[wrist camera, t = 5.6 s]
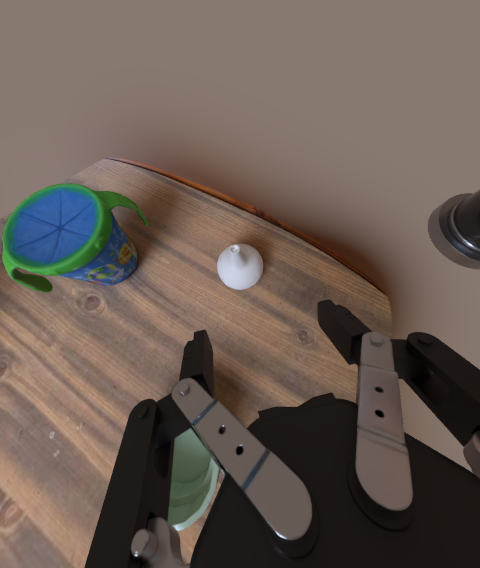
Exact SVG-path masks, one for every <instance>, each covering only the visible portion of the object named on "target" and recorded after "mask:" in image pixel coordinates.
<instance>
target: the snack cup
mask: <svg viewBox="0 0 480 568" xmlns="http://www.w3.org/2000/svg"><path fill="white" fill-rule="evenodd" d="M118 205H119V206H122V207H126V208H130V209H134V210H136V211H137V213H138V215H139V217H140V218H141V220H142V221H143V223H144V224H145V225H146V226H149V223H148V221H147V219H146V217H145V215H144V214H143V213H142V211H141V210H140V209H139V208H138V206H137V205H136V204H135V203H134V202H133V201H132V200H130V199H129V198H127V197H125V196H123V195H121V194H118V193H115V192H110V191H93V190H91V189H89V188H88V187H85V186H83V185H79V184H72V183H66V184H58V185H53V186H49V187H46V188H44V189H41V190H39V191H37V192H35V193H34V194H32V195H30V196H29V197H28V198H26V199H25V200H24V201H23V202H22V203H21V204H20V205H19V206H18V207H17V208H16V209H15V210H14V211H13V213H12V214H11V216H10V217H9V219H8V221H7V223H6V225H5V228H4V232H3V247H4V250H3V255H2V259H3V263H4V266H5V269H6V271H7V273H8V274H9V276H10V277H11V278H12V279H13V280H14V281H16V282H17V283H19V284H21V285H23V286H25V287H28V288H30V289H33V290H36V291H40V292H50V291H52V289H53V287H52V284H51V283H50V282H49V281H48V280H47V279H46V278H45V277H42V276H39V275H33V274H24V273H21V272H19V271H18V270H16V268H23V269H25V270H28V271H30V272H34V273H38V274H43V275H50V276H56V275H60V276H63V277H68V278H72V279H78V280H83V281H87V282H91V283H97V284H102V285H114V284H117V283H118V282H122V281H123V280H125V279H126V278H127V277H128V276H129V275H130V274H131V273H132V272H133V271H134V270H135V269H136V268H137V266H136V264H137V250H136V248H135V246H134V245H133V243H132V242H131V240H130V239H129V238H128V236H127V235H126V234H125V232H124V231H123V230H122V229H121V227H120V226H119V225H118V223H117V221H116V219H115V217H114V215H113V214H112V212H111V210H112V209H113V208H114V207H115V206H118Z"/></svg>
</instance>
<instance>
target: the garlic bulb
mask: <svg viewBox="0 0 480 568" xmlns="http://www.w3.org/2000/svg"><path fill="white" fill-rule="evenodd" d="M217 270H218V274H219V277H220V278H221V280H222V281H223V282H224V283H225V284H226V285H227V286H229V287H230V288H233V289H237V290H243V289H247V288H250V287H252V286H253V285H255V284H256V283H257V282H258V281H259V279H260V277H261V275H262V272H263V260H262V258H261V256H260V254H259V253H258V251H257V250H256V249H254V248H253V247H251V246H249V245H246V244H233V245H231V246H229V247H227V248H226V249H225V250H224V251H223V252H222V253H221V255H220V256H219V259H218V263H217Z"/></svg>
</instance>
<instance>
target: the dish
mask: <svg viewBox="0 0 480 568" xmlns="http://www.w3.org/2000/svg"><path fill="white" fill-rule="evenodd" d="M219 474H220V469H219V468H218V466H217V465H216V464H215V462H214V461H213V459H212V458H211V456H210V455H209V453H208V452H207V450H206V449H205V448H204V446H203V445H202V443H201V442H200V441H199V439H198V438H197V437H196V435H195V434H194V432H193V431H192V430H191V428H190V429H189V430H187V431H185V432H184V433H182V434H181V435H179V436H178V437H176V438H175V443H174V455H173V466H172V478H171V489H170V501H169V512H168V523H170V524H171V525H172V526H173V527H174V528H175V529H176V530H177V531H180V530H184V529H187V528H188V527H189V526H190V525H191V524H192V523H194V522H195V521H196V520H197V519H198V518H199V517H201V516H202V515H203V514H204V512H205V510H206V509H207V507H208V505H209V503H210V501H211V499H212V497H213V495H214V493H215V491H216V486H217V482H218V478H219Z"/></svg>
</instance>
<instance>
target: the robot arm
mask: <svg viewBox="0 0 480 568" xmlns="http://www.w3.org/2000/svg"><path fill="white" fill-rule="evenodd" d="M448 224H449V228H450V230H451V232H452V234H453V235H454V237H455V238H456V239H457V240H458V241H459V242H460V243H461V244H462V245H464V246H465V247H467V248H468V249H470V250H472V251H474V252H476V253H479V254H480V190H479V191H477V192H475V193H474V194H472V195H471V196H469V197H468V198H466V199H464V200H462V201H461V202H459V203H458V204H456V205H455V206H454V207H453V208H452V209H451V211H450V213H449V216H448ZM318 323H319V325H320V327H321V329H322V330H323V331H324V333H325V334H326V335H327V337H328V338H329V339H330V341H331V342H332V343H333V345H334V346H335V347H336V348H337V350H338V351H339V352H340V354H341V355H342V356H343V358H344V359H345V360H346V362H347V363H348V364H349V365H351V364H355V363H356V364H357V365H358V376H357V390H356V402H355V403H354V402H351V401H348V400H344V399H336V398H335V397H334V395H333V393H328V394H324V395H320V396H316V397H313V398H312V399H310V400H308V401H307V402H305V403H303V404H302V405H300V406H298V407H273V408H270V409H266V410H262V411H258V413H259V418H258V419H256V420H255V421H254V422H253V423H251V424H250V426H249V427H248V428H246V427H245V426H244V425H243V424H242V423H241V422H240V421H239V420H238V419H237V418H236V417H235V416H234V415H233V414H232V413H231V412H230V411H229V410H228V409H227V408H226V407H225V406H224V405H223V404H222V403H221V402H219V401H218V400H214V379H213V350H212V345H211V343H210V340H209V337H208V334H207V332H206V330H201V331H197V332H194V339H193V340H192V341H188V343H187V344H186V346H185V348H184V355H183V361H182V366H181V373H180V379H179V382H178V383H177V384H176V385H175V386H174V388H173V390H172V393H170V394H169V395H168V396H166V397H164V398H162V399H161V400H159V401H157V402H155V401H154V400H153V399H146V400H143V401H141V402H140V403H138V404H137V405H136V406H135V407H134V408H133V410H132V411H131V413H130V415H129V418H128V422H127V425H126V428H125V432H124V435H123V439H122V442H121V445H120V449H119V452H118V456H117V459H116V462H115V466H114V469H113V473H112V476H111V479H110V483H109V486H108V490H107V493H106V496H105V500H104V503H103V506H102V510H101V513H100V517H99V520H98V523H97V527H96V530H95V534H94V537H93V540H92V544H91V547H90V551H89V554H88V557H87V561H86V564H85V568H480V370H479V369H478V368H477V367H475V366H474V365H473V364H471V363H470V362H469V361H467V360H466V359H465V358H463V357H462V356H461V355H459V354H458V353H456V352H455V351H454V350H452V349H451V348H450V347H448V346H447V345H445V344H444V343H443V342H441V341H440V340H439V339H438V338H436V337H434V336H432V335H430V334H427V333H422V332H414V333H411V334H409V335H408V337H407V340H401V339H397V340H396V339H389V338H388V337H387V336H385V335H383V334H381V333H377V332H372V331H371V330H370V329H369V328H368V327H366V326H365V325H364V324H363V323H362V322H361V321H360V320H359V319H358V318H356V316H355V315H353V314H352V313H351V312H350V311H349V310H348V309H347V308H345V307H343V306H341V305H335V304H334V303H333V302H332V301H331V300H329V299H328V300H324V301H320V302H318ZM398 379H403V380H404V381H405V382H406V383H407V384H408V385H409V386H410V387H411V389H412V390H413V391H414V392H415V393H416V394H417V395H418V396H419V398H420V399H421V400H422V401H423V402H424V403H425V404H426V405H427V406H428V408H429V409H430V410H431V411H432V412H433V413H434V414H435V415H436V417H437V418H438V419H439V420H440V421H441V422H442V423H443V424H444V425H445V426H446V427H447V429H448V430H449V431H450V432H451V433H452V434H453V435H454V437H455V438H456V439H457V440H458V441H459V442H460V443H461V444H462V445H463V447H464V449H463V453H464V457H465V459H466V461H467V463H468V464H469V465H470V467H471V468H472V472H473V473H474V474H473V473H472V472H470V471H469V470H467V469H465V468H464V467H462V466H460V465H459V464H457V463H455V462H454V461H452V460H450V459H449V458H447V457H446V456H444V455H442V454H440V453H439V452H437V451H435V450H434V449H432V448H430V447H429V446H427V445H425V444H424V443H422V442H420V441H419V440H417V439H415V438H414V437H412V436H410V435H409V434H407V433H405V432H404V428H403V418H402V409H401V400H400V390H399V380H398ZM190 428H191V430H192V431H193V432H194V434H195V435H196V437H197V438H198V439H199V441H200V442H201V443H202V445H203V446H204V448H205V449H206V450H207V452H208V453H209V455H210V456H211V458H212V459H213V461H214V462H215V464H216V465H217V466H218V468H219V469H220V471H221V472H222V473H223V475H224V476H225V477H224V480H223V482H222V484H221V487H220V489H219V491H218V493H217V496H216V498H215V500H214V503H213V505H212V507H211V510H210V512H209V514H208V517H207V519H206V521H205V524H204V526H203V528H202V531H201V533H200V535H199V538H198V540H197V542H196V545H195V548H194V551H193V554H192V558H191V562H190V564H185V563H184V561H183V559H182V556H181V548H180V537H179V534H178V532H177V530H176V529H175V528H174V527H173V526H172V525H171V524H170V523H168V512H169V501H170V489H171V478H172V466H173V455H174V443H175V438H176V437H178V436H179V435H181V434H182V433H184V432H185V431H187V430H189V429H190Z"/></svg>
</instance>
